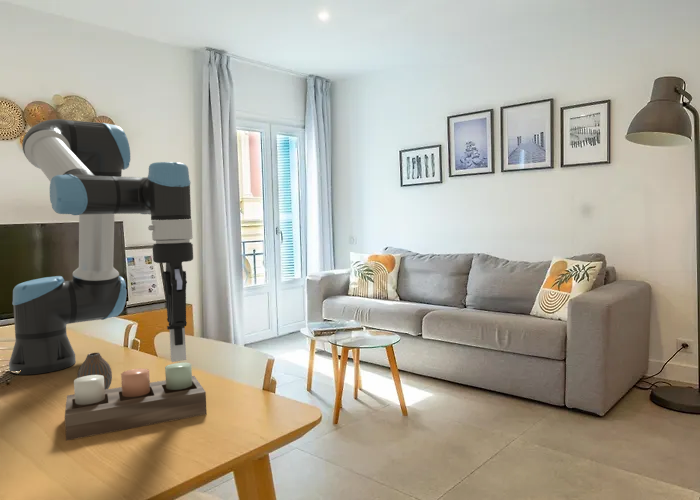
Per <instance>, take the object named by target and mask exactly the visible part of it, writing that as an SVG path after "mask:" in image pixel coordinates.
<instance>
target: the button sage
mask: <svg viewBox="0 0 700 500" xmlns="http://www.w3.org/2000/svg"><path fill="white" fill-rule="evenodd" d="M192 368H193V367H192V363H190V362H175V363H174V362H173V363H171V364H168V365H166V366H165V367H164V371H165V373H164V374H165V380H166V388H167V389H170V390H179V389H185V388H188V387H190V386H192V376H193V372H192V371H193V370H192Z"/></svg>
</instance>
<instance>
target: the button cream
mask: <svg viewBox="0 0 700 500" xmlns="http://www.w3.org/2000/svg"><path fill="white" fill-rule="evenodd" d="M73 387H74V388H73V389H74V392H73V393H74V394H75V403H76V404H79V405H87V404H93V403H97V402H100V401H102V400H104V399H105V389H104V376H102V375H89V376H83V377H80V378H75V379H73Z"/></svg>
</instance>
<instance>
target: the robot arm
mask: <svg viewBox="0 0 700 500" xmlns="http://www.w3.org/2000/svg"><path fill="white" fill-rule="evenodd" d="M21 144H22V145H21V147H22V151H23V154H24V156H25V157H26V160H28V162H29V163H30V164H31V165H32V166H34V167H35V168H38V170H39V169H40V170H41V171H42V172H43V174H44V175H45V177H46V178H47V180H48V181H49V200H50V204H51V208H52V210H53V211H54V212H55V213H56V214H59V215H71V216H78V267H77V268H75V270H73V272H72V278H71V280H65V279H64V277H63V276H61V275H56V276H55V275H54V276H46V277H41V278H36V279H35V278H34V279H31V280H27V281H24V282H21V283H18V284H16V285H15V286H14V288H13V290H12V304H11V305H13V318H14V319H13V320H14V321H13V322H14V334H15V342H14V344H13V345H14V346H13V349H12V352H11V354H10V355H11V356H10V359H9V362H8V369H9V370H10V371H20V370H21V372H20V373H19V375H21V376H23V375H24V376H25V375H27V376H28V375H38V374H39V375H40V374H46V373H52V372H57V371H60V370H64V369H68V368H69V367H72V366H73V365H75V364H76V353H75V351H74V349H73V346H72V343H71V342H70V340H69V337H68V333H67V325H69V324H76V323H77V324H78V323H84V322H91V321H98V320H99V321H100V320H101V321H103V320H106V319H110V318H116V317H118V316H119V315H120V314H121V313H122V312H123V310H124V309H125V305H126V302H127V301H126V300H127V293H128V292H127V289H126V288H127V284H126V281H125V279H124V278H123V276H121V275H120V272H119V271H118V270H117V269H116V268H115V267H114V250H115V248H114V247H115V244H114V243H115V215H123V214H124V215H125V214H126V215H127V214H128V215H129V214H130V215H132V214H135V215H137V214H140V215H150V220H151V225H148V227H147V228H148V230H149V231H152V232H151V235H152V236H151V239H152V241H153V242H155V243H153V245H152V261H153V262H154V263H157V264H165V271H162V279H163V283H164V292H165V303H166V304H165V305H166V316H167V318H166V321H167V323H168V325H167V326H166V329H167V330H168V331H169V345H170V349H169V350H170V361H171V362H172V363H174V362H175V363H177V362H182V361H183V362H184V361H187V351H186V350H187V349H186V348H187V347H186V329H185V327H186V326H187V325H188V322H187V283H188V281H187V272H186V271H187V270H184V269H183V263H184V262H185V263H186V262H191V261H193V260H194V248H193V247H194V245H193V243H192V242H191V240H192V239H194V238H193V221H192V210H191V209H192V207H191V202H192V201H191V180H190V172H189V166H188V165H186V164H185V163H182V162H178V161H175V162H174V161H159V162H152V163H150V164H149V166H148V172H147V173H148V174H147V176H146V177H145V176H144V177H140V176H122V172H123V171H124V170H128V168H129V167H130V163H131V149H130V143H129V140H128V137H127V135H126V133H125V131H124V129H122V127H120V126H118V125H116V124H111V123H106V122H96V121H84V120H83V121H82V120H69V119H63V118H56V119H55V118H54V119H47V120H45V121H44V120H43V121H41V122H39V123H37V124H35V125H33V126H32V127H30V128H29V129H28V130H27V132H26V133H25V134H24V136H23V139H22V143H21ZM122 170H123V171H122ZM10 371H9V372H10Z"/></svg>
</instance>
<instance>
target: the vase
mask: <svg viewBox="0 0 700 500" xmlns="http://www.w3.org/2000/svg"><path fill="white" fill-rule="evenodd" d="M89 375H102V376H104V389H105V390H106V389H110V386H111V384H112V380H113V372H112V368H111V365H110V364H109V363H108V361H106V360H105V359H104V358H103V357H102V355H101V353H100V352H89V353H88V354H87V355H86V358H85V359H84V361H83V362H82V364H81V365H80V367H79V368H78V371H77V376H76V377H77V378H80V377H83V376H89ZM77 378H76V379H77Z"/></svg>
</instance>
